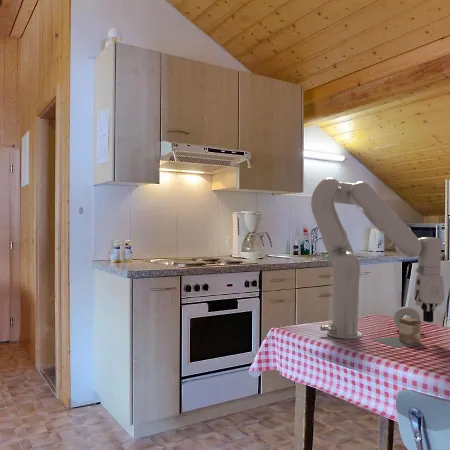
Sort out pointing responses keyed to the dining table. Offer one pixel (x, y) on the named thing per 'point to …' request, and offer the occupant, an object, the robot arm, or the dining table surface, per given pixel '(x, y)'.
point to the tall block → (409, 330)
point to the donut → (403, 312)
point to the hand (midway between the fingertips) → (428, 321)
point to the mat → (396, 342)
